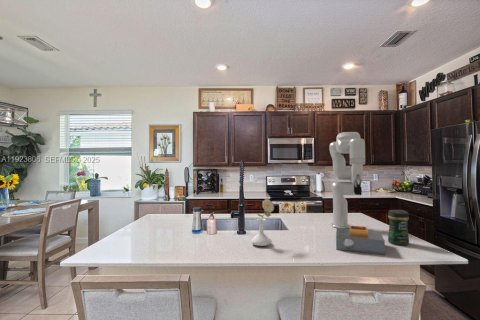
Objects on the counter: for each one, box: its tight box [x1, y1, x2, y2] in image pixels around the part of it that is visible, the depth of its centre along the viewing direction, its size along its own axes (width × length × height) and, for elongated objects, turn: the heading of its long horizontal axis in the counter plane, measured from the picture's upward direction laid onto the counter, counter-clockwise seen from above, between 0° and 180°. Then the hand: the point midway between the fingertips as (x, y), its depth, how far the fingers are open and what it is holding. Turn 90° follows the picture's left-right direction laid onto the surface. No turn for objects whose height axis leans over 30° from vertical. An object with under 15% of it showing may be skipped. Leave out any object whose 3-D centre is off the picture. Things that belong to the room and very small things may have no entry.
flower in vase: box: [250, 198, 275, 247], centre depth 141 cm, size 13×11×25 cm
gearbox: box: [335, 224, 386, 256], centre depth 136 cm, size 19×22×10 cm
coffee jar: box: [387, 209, 410, 246], centre depth 141 cm, size 10×8×19 cm
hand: (357, 193), depth 137 cm, fingers open, 9 cm apart
